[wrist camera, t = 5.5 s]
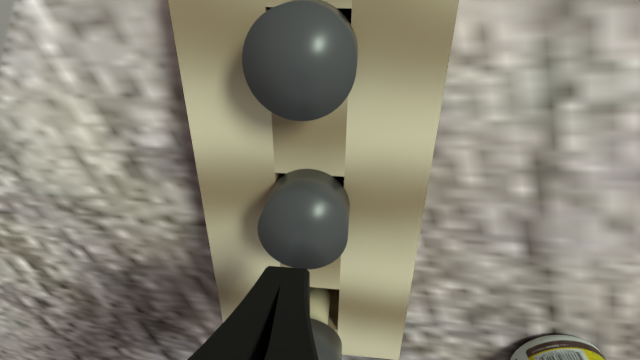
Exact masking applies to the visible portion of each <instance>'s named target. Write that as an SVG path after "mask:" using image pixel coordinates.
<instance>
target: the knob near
mask: <svg viewBox="0 0 640 360" xmlns="http://www.w3.org/2000/svg"><path fill="white" fill-rule="evenodd" d="M357 60H358V45H357V39H356V35H355V32H354V30H353V28H352V26H351V24H350V22H349V21H348V19H347V18H346V17H345V16H344V15H343V14H342V12H341V11H339V10H338V9H337V8H336V7H334V6H333V5H331V4H329V3H327V2H325V1H322V0H292V1H289V2H286V3H283V4H280V5H278V6H275V7H273V8H271V9H269V10H267V11H266V12H265V13H263V14H262V15H261V16H260V17H259V18H258V19H257V20H256V21H255V22H254V24H253V25H252V26H251V28H250V30H249V32H248V34H247V36H246V39H245V41H244V46H243V51H242V66H243V72H244V76H245V79H246V82H247V84H248V87H249V88H250V90H251V92H252V94H253V95H254V96H255V98H256V99H257V100H258V101H259V102H260V103H261V104H262V105H263V106H264V107H265V108H266V109H268V110H269V111H271V112H272V113H274V114H276V115H278V116H280V117H282V118H285V119H289V120H294V121H310V120H315V119H319V118H322V117H324V116H326V115H328V114H330V113H332V112H333V111H334V110H336V109H337V108H338V107H339V106H340V105H341V104H342V103H343V102H344V101H345V99H346V98H347V97H348V95H349V93H350V91H351V89H352V87H353V84H354V81H355V77H356V70H357Z"/></svg>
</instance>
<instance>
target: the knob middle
mask: <svg viewBox="0 0 640 360" xmlns="http://www.w3.org/2000/svg"><path fill="white" fill-rule="evenodd" d="M349 212H350V202H349V197H348V194H347V192H346V190H345V188H344V187H343V186H342V184H341V183H340V182H339V181H338V180H337V179H336V176H331V175H329V174H327V173H325V172H322V171H319V170H315V169H298V170H294V171H291V172H289V173H287V174H285V175H283V176H282V177H281V178H280V179H279V180H278V181H277V182H276V183H275V185H274V186H273V188H272V190H271V193H270V195H269V197H268V199H267V202H266V204H265V206H264V209H263V211H262V213H261V215H260V218H259V221H258V226H257V229H258V237H259V240H260V242H261V244H262V246H263V248H264V249H265V250H266V251H267V253H268V254H269V255H270V256H271V257H273V258H274V259H275V260H277V261H278V262H280V263H282V264H284V265H286V266H289V267H293V268H303V269H317V268H321V267H324V266H327V265H329V264H331V263H333V262H334V261H335V260H337V259H338V258H339V257H340V256H341V254H342V253H343V252H344V250H345V248H346V245H347V240H348V227H349Z"/></svg>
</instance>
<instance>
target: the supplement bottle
mask: <svg viewBox="0 0 640 360" xmlns="http://www.w3.org/2000/svg"><path fill="white" fill-rule="evenodd" d="M510 360H606V359H605V358H604V356H603V355H602V354H601V352H600V351H599V350H598V349H597V348H596V347H595V346H594V345H592V344H591V343H589V342H588V341H586V340H583V339H581V338H578V337H574V336H569V335H548V336H543V337H539V338H536V339H533V340H531V341H529V342H527V343H525V344H523V345H522V346H521V347H519V348H518V349H517V350H516V351H515V352H514V354H513V355H512V357H511V359H510Z"/></svg>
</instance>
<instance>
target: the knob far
mask: <svg viewBox="0 0 640 360" xmlns="http://www.w3.org/2000/svg"><path fill="white" fill-rule="evenodd" d="M329 306H330V294H329V292H328V291H327V289H325V288H315V287H310V320H311V327H312V332H313V337H314V342H315V346H316V351H317V355H318V359H319V360H341V356H342V342H341V339H340V337H339V335H338V334H337V333H336V332H335V330H333V329H332V328H331V327H330V326H328V316H329Z"/></svg>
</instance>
